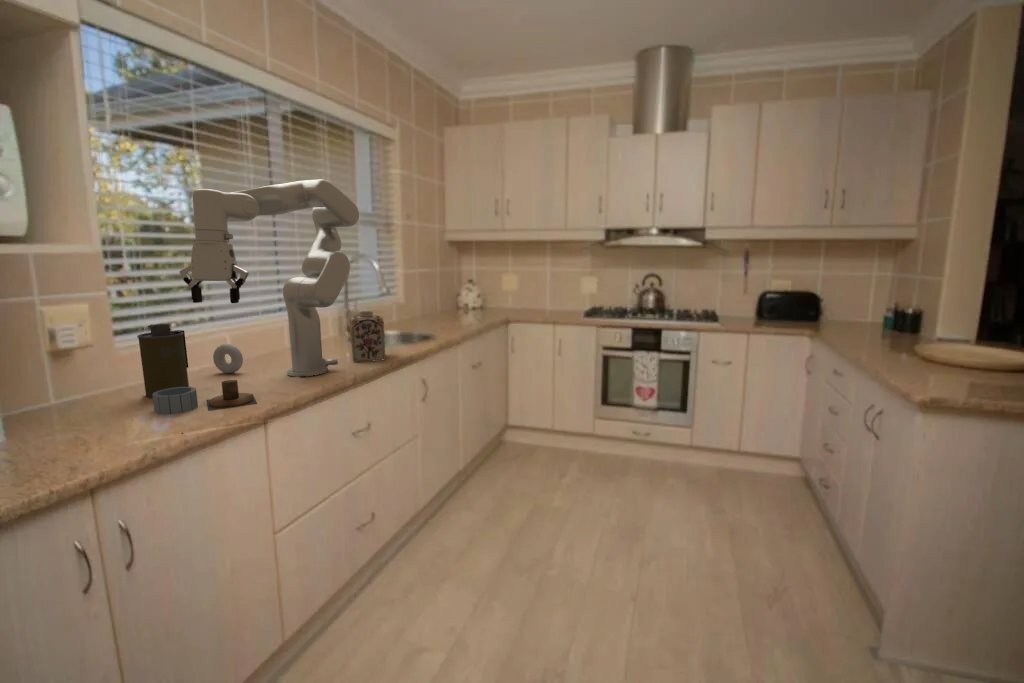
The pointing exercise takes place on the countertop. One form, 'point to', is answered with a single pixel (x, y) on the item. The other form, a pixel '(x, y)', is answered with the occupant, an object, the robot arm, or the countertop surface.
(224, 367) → the donut
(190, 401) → the grey short cylinder
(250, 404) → the mat
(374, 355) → the decorative jar
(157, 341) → the canister
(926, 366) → the countertop surface
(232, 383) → the lid
